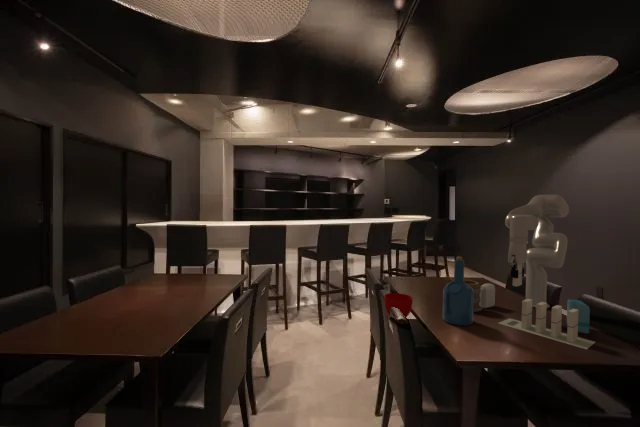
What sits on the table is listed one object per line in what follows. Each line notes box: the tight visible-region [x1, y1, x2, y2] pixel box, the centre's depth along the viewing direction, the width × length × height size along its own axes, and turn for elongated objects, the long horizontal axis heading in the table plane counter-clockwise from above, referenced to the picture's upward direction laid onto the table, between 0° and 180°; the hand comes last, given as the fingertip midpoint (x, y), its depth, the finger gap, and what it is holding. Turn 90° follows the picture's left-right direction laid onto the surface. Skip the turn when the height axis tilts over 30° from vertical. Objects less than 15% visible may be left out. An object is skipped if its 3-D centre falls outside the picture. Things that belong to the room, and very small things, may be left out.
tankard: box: [443, 275, 483, 313], centre depth 170 cm, size 20×13×15 cm, turn 35°
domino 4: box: [550, 304, 563, 338], centre depth 132 cm, size 6×2×12 cm, turn 126°
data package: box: [566, 298, 591, 335], centre depth 140 cm, size 12×4×12 cm, turn 158°
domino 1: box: [512, 262, 523, 287], centre depth 156 cm, size 6×2×12 cm, turn 126°
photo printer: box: [479, 283, 496, 309], centre depth 171 cm, size 10×4×12 cm, turn 123°
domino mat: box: [497, 318, 596, 350], centre depth 135 cm, size 12×32×1 cm, turn 36°
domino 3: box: [535, 302, 548, 333], centre depth 136 cm, size 6×2×12 cm, turn 126°
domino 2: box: [520, 298, 533, 329], centre depth 140 cm, size 6×2×12 cm, turn 126°
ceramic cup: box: [383, 292, 414, 318], centre depth 152 cm, size 13×17×10 cm
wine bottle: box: [441, 256, 475, 327], centre depth 146 cm, size 14×13×30 cm
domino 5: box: [566, 309, 579, 343], centre depth 127 cm, size 6×2×12 cm, turn 126°
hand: (517, 276), depth 156 cm, fingers closed on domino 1, 6 cm apart
